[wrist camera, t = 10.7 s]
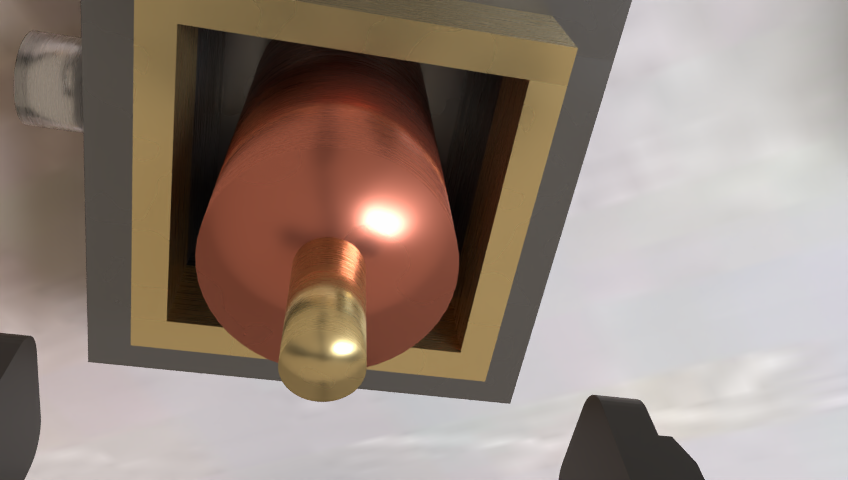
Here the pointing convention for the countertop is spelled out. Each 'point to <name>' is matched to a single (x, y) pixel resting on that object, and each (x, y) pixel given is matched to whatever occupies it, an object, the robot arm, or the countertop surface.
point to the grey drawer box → (215, 125)
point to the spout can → (329, 218)
